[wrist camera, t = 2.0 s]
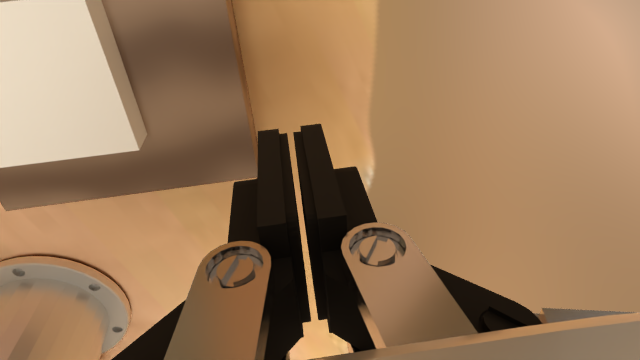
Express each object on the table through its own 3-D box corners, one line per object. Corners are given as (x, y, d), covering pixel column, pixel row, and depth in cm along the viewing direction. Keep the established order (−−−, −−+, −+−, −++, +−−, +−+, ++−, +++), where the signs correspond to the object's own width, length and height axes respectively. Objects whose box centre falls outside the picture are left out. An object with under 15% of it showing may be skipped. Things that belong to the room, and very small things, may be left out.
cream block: (147, 134, 24) (139, 150, 23) (7, 151, 24) (-12, 169, 22) (97, -13, 20) (82, -7, 18) (-76, 4, 19) (-108, 13, 18)
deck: (258, 148, 30) (258, 177, 27) (34, 177, 29) (6, 210, 26) (210, -118, 21) (201, -125, 18) (-113, -91, 20) (-185, -93, 17)
